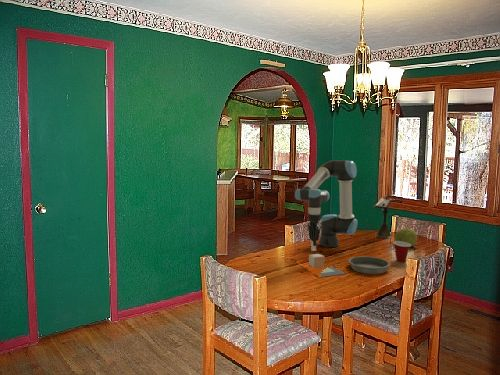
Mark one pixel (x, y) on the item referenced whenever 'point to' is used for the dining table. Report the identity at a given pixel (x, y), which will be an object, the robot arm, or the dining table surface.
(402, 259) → the plastic cup
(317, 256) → the cream block
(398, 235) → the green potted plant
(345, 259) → the dining table surface
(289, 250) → the dining table surface
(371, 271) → the cake pan
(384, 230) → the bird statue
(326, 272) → the blue-grey flat triangle
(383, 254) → the dining table surface
